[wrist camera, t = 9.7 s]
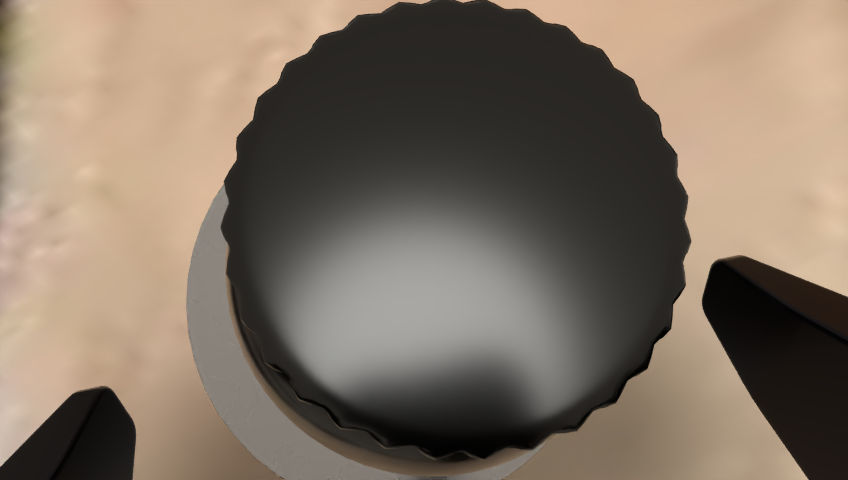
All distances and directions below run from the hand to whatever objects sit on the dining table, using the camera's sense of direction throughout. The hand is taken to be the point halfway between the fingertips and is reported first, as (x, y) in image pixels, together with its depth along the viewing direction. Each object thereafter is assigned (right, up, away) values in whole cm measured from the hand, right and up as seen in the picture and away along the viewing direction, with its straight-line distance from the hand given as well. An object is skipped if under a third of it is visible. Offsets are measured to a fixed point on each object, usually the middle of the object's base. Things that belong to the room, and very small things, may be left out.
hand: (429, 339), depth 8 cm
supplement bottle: (0, 0, +9) cm, 9 cm away
